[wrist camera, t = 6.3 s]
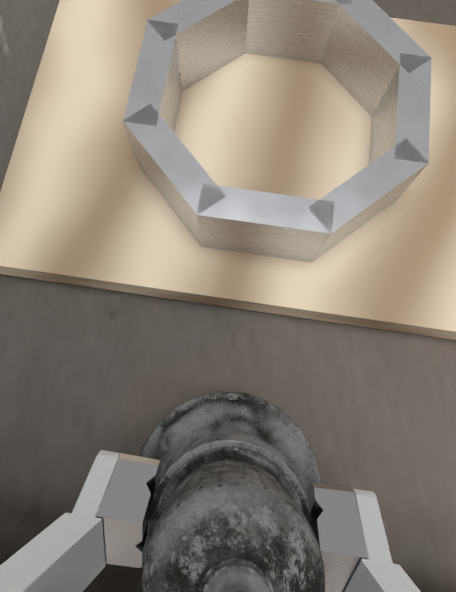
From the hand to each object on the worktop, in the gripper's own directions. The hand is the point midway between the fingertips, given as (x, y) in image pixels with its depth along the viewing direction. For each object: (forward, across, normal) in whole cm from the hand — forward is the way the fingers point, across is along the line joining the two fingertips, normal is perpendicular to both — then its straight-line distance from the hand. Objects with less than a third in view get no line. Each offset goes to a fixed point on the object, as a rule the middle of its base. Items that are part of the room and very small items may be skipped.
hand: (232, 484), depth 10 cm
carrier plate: (+14, 0, -5) cm, 15 cm away
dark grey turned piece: (+4, 0, +5) cm, 7 cm away
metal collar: (+13, 0, -6) cm, 14 cm away
